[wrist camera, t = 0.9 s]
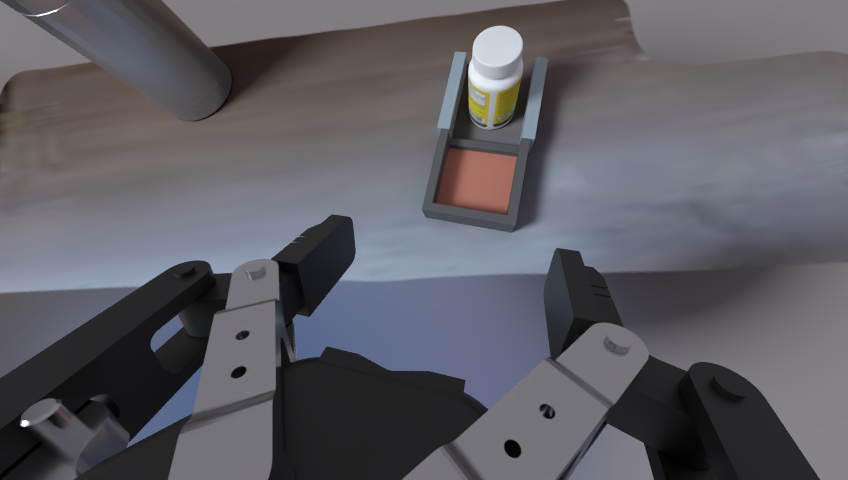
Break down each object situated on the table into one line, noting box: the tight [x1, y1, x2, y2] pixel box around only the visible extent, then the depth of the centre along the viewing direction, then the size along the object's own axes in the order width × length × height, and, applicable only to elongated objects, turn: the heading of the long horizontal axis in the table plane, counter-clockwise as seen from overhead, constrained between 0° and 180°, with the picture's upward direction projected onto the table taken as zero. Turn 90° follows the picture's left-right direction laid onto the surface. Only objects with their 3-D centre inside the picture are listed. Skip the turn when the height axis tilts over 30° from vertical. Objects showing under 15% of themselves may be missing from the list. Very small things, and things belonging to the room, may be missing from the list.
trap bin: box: [422, 128, 530, 232], centre depth 30 cm, size 9×9×2 cm
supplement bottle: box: [468, 26, 523, 130], centre depth 29 cm, size 5×5×8 cm
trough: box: [437, 52, 548, 153], centre depth 32 cm, size 9×9×2 cm
